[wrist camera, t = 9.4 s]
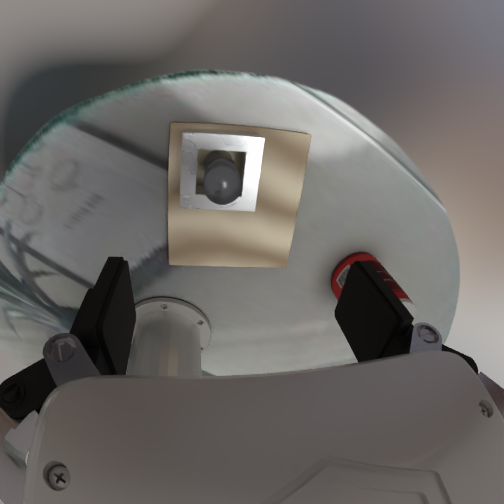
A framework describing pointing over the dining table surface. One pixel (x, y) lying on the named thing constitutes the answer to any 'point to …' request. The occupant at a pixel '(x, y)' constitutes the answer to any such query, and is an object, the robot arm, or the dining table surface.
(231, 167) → the pin
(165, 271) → the dining table surface
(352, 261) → the canned food
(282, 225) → the board
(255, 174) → the collar
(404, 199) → the dining table surface
